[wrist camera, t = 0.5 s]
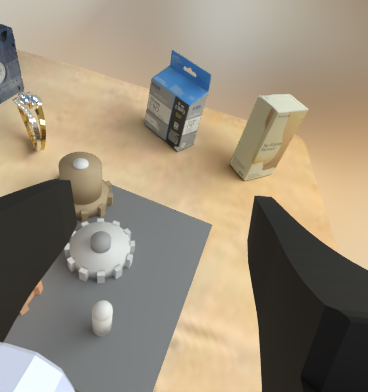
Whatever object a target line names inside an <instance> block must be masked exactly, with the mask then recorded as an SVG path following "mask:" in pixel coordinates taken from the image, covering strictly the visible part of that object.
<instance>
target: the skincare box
mask: <svg viewBox="0 0 368 392" xmlns="http://www.w3.org/2000/svg"><path fill="white" fill-rule="evenodd" d="M307 111H308V108H306V107H305V106H304V105H303V104H301V103H300V102H299V101H298V100H296V99H295V98H294V97H293V96H291V95H290V94H283V95H282V94H281V95H277V94H275V95H267V96H258V99H257V101H256V103H255V106H254V108H253V110H252V113H251V115H250V117H249V120H248V122H247V124H246V127H245V129H244V131H243V134H242V136H241V138H240V141H239V143H238V145H237V148H236V150H235V152H234V155H233V157H232V159H231V162H230V165H231V166H232V167H233V168H234V170H235V171H236V172H237V173H238V174H239V176H240V177H241V178H242V179H243V180H250V179H255V178H259V177H263V176H267V175H271V174H272V173H273V171H274V170H275V168H276V166H277V164H278V162H279V161H280V159H281V157H282V155H283V154H284V152H285V150H286V148H287V147H288V145H289V143H290V141H291V140H292V138H293V136H294V134H295V133H296V131H297V129H298V127H299V125H300V124H301V122H302V120H303V118H304V117H305V115H306V113H307Z"/></svg>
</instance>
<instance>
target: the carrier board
mask: <svg viewBox="0 0 368 392" xmlns="http://www.w3.org/2000/svg"><path fill="white" fill-rule="evenodd" d="M59 173H60V177H59V178H58V179H61V180H70V181H71V187H72V193H73V199H74V205H75V211H76V217H77V223H78V224H77V226H76V228H75V230H74V232H73V234H72V236H71V238H70V240H69V242H68V243H67V245H66V246H65V248H64V249H63V251H62V252H61V253H60V255H59V256H58V257H57V259H56V260H55V262H54V263H53V264H52V266H51V267H50V268H49V270H48V271H47V272H46V274H45V275H44V276H43V278H42V279H41V282H42V285H43V290H42V292H41V295H37V294H35V295H34V297H33V298H32V299H31V301H30V302H29V303H28V304H27V305H28V307H29V310H28V311H27V312H26V313H25V314H23V315H21V314H20V313H19V315H18V316H17V318H16V320H15V322H14V324H13V325H12V327H11V329H10V331H9V333H8V335H7V337H6V338H5V340H4V342H3V343H8V344H11V345H15V346H18V347H21V348H25V349H28V350H31V351H34V352H37V353H39V354H40V355H42V356H43V357H45V358H46V359H48V360H49V361H51V362H52V363H54V364H55V365H57V366H58V367H60V368H61V369H62V370H63V372H64V373H65V375H66V377H67V378H68V380H69V381H70V383H71V384H72V386H73V388H74V390H75V392H153V389H154V386H155V383H156V380H157V378H158V375H159V372H160V369H161V366H162V364H163V361H164V358H165V355H166V352H167V350H168V347H169V344H170V341H171V339H172V336H173V333H174V330H175V327H176V325H177V322H178V319H179V316H180V313H181V311H182V308H183V305H184V302H185V299H186V297H187V294H188V291H189V288H190V285H191V283H192V280H193V277H194V274H195V271H196V269H197V266H198V263H199V260H200V257H201V255H202V252H203V249H204V246H205V243H206V241H207V238H208V235H209V232H210V229H211V227H212V225H211V224H209V223H206V222H204V221H201V220H199V219H196V218H194V217H191V216H189V215H186V214H184V213H181V212H179V211H176V210H174V209H171V208H169V207H166V206H164V205H161V204H159V203H156V202H154V201H151V200H149V199H146V198H144V197H141V196H139V195H136V194H134V193H131V192H129V191H126V190H124V189H121V188H118V187H116V186H113V185H111V183H110V182H109V181H106V182H105V181H104V180H102V163H101V161H100V159H99V158H98V157H96V156H95V155H93V154H90V153H86V152H75V153H71V154H68V155H66V156H64V157H63V158H62V159H61V160H60V162H59Z"/></svg>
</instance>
